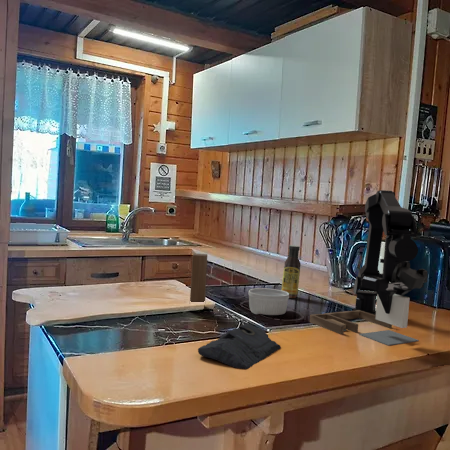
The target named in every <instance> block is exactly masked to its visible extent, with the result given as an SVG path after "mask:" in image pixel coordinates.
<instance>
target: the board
mask: <svg viewBox="0 0 450 450" xmlns="http://www.w3.org/2000/svg"><path fill="white" fill-rule="evenodd" d="M409 307H410V297H409V296H406V295H404V296H401V295H397V294H394V295H393V297H392V303H391V310H390V314H387V313H385V310H384V308H383V305H382V303H381V300H380V298H379V296H378V294H377V296H376V309H375V311H376V313H375V315H376V318H375V319H376V320H379V321H382V322H385V323H388V324H391V325H392V326H394V327H398V328H401V329H405V328H408V319H409V310H410V309H409Z"/></svg>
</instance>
